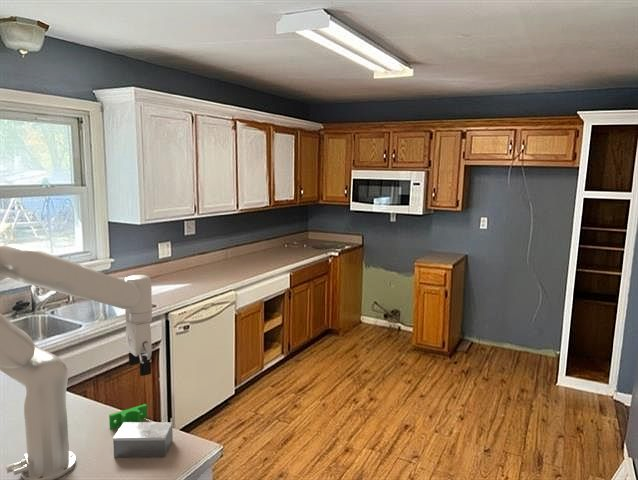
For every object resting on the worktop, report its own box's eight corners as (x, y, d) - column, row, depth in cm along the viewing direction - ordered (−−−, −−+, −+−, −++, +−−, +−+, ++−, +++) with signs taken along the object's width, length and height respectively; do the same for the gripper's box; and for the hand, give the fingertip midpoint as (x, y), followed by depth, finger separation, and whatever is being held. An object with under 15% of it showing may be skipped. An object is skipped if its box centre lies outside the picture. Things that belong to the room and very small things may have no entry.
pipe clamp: (113, 434, 141) (112, 419, 141) (109, 428, 144) (108, 414, 144) (150, 421, 149) (149, 408, 148) (145, 416, 151) (145, 403, 151)
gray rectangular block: (114, 457, 129) (113, 437, 129) (124, 441, 137) (123, 422, 136) (165, 457, 130) (164, 437, 129) (172, 441, 138) (172, 422, 137)
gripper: (117, 310, 146) (118, 363, 148) (136, 325, 133) (137, 382, 135) (141, 307, 151) (142, 357, 153) (161, 321, 138) (162, 376, 140)
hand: (139, 369), depth 144 cm, fingers open, 9 cm apart
